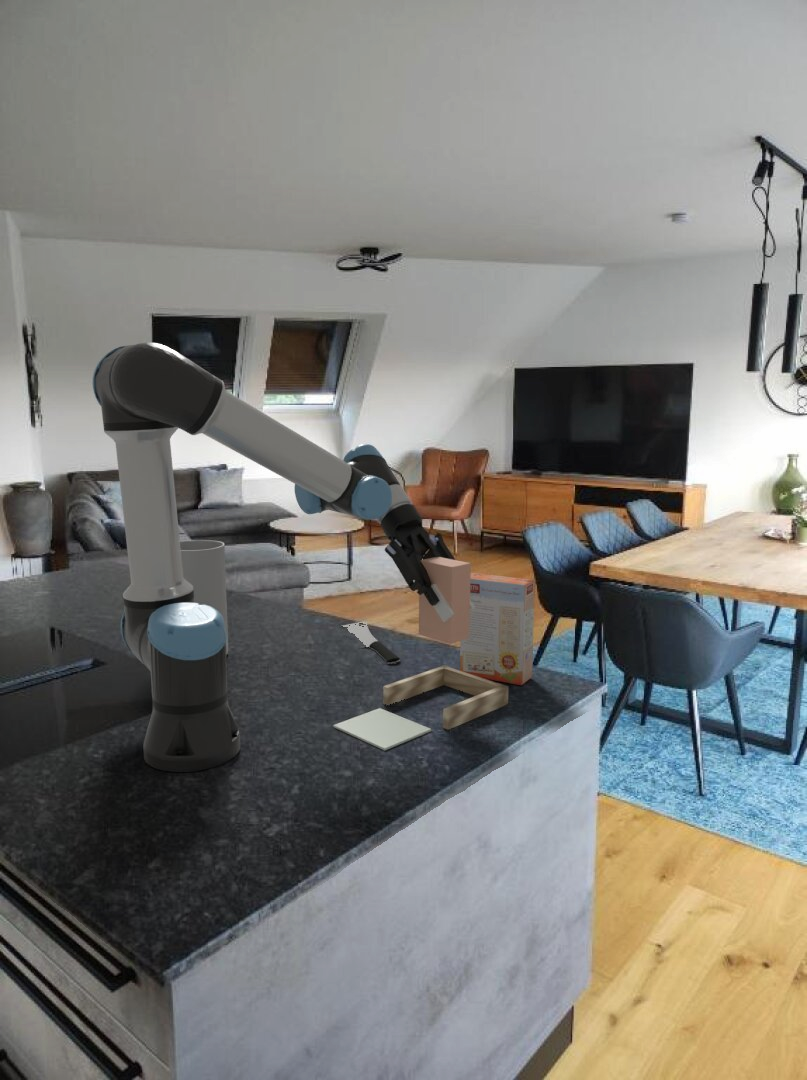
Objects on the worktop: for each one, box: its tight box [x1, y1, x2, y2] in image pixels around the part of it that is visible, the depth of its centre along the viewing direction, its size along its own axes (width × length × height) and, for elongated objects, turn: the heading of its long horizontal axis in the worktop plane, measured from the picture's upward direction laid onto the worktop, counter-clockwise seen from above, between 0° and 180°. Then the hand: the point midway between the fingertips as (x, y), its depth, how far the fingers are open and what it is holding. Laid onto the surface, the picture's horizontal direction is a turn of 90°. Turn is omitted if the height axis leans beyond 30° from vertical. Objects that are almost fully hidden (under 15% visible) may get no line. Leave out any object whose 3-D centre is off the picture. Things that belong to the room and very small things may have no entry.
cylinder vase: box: [180, 539, 229, 656], centre depth 174 cm, size 12×12×25 cm
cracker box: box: [459, 572, 536, 686], centre depth 162 cm, size 14×6×21 cm, turn 59°
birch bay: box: [382, 665, 509, 730], centre depth 149 cm, size 17×16×4 cm
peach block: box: [418, 557, 472, 645], centre depth 145 cm, size 5×8×14 cm, turn 45°
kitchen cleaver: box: [342, 621, 401, 665], centre depth 185 cm, size 31×2×10 cm
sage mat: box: [333, 707, 432, 752], centre depth 138 cm, size 11×13×1 cm
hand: (459, 614), depth 143 cm, fingers closed on peach block, 5 cm apart
